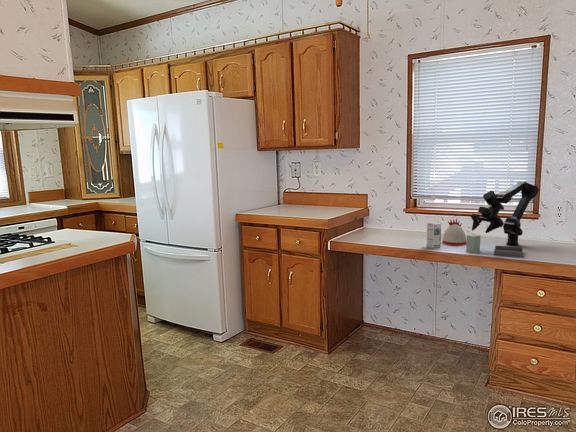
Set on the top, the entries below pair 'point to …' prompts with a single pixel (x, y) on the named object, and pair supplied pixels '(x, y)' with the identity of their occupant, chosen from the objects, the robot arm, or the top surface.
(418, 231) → the top surface
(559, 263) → the top surface
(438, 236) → the syrup box
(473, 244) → the sage block
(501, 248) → the tray
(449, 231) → the cream dome with spikes
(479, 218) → the robot arm
